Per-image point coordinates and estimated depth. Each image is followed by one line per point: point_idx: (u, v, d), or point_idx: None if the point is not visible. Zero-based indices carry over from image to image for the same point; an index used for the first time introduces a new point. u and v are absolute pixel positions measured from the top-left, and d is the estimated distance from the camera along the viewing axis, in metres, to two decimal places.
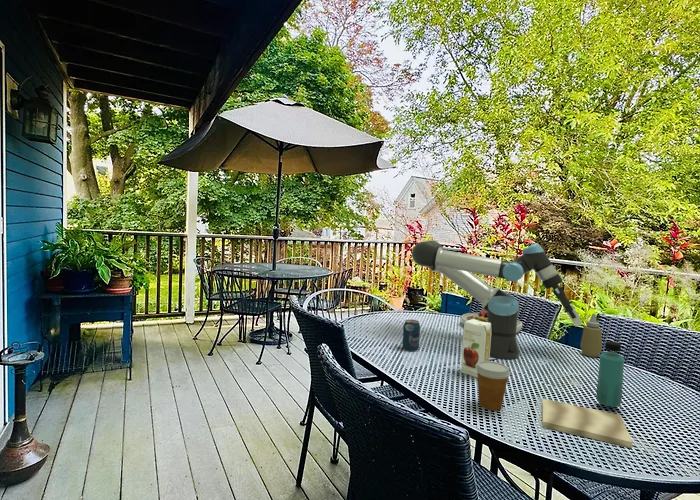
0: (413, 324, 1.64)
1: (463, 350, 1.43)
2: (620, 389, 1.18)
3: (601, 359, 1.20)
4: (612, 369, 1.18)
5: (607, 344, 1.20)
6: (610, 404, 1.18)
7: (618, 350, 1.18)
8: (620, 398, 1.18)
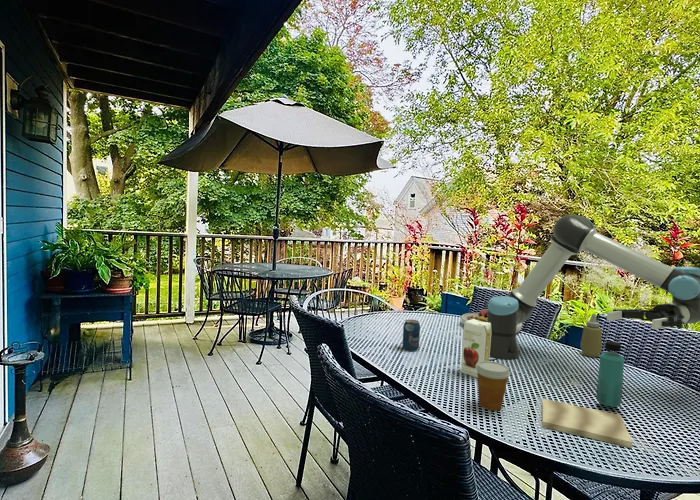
0: (413, 324, 1.65)
1: (463, 350, 1.43)
2: (620, 389, 1.18)
3: (601, 359, 1.20)
4: (612, 369, 1.18)
5: (607, 344, 1.20)
6: (610, 404, 1.18)
7: (618, 350, 1.18)
8: (620, 398, 1.18)
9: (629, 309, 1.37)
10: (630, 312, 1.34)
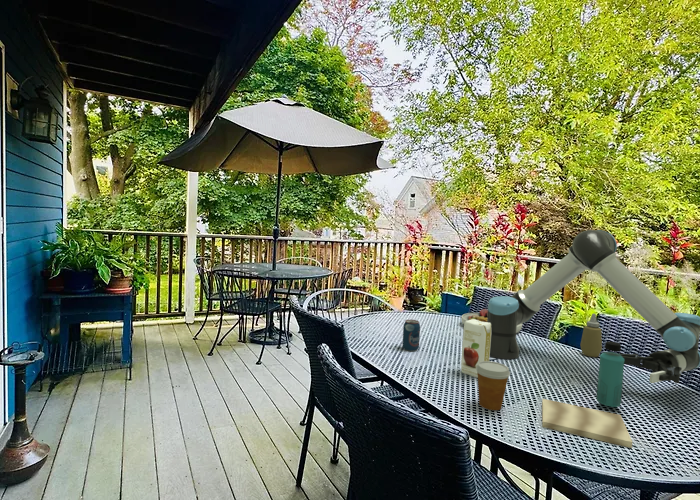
0: (413, 324, 1.65)
1: (463, 350, 1.43)
2: (620, 389, 1.18)
3: (601, 359, 1.20)
4: (612, 369, 1.18)
5: (607, 344, 1.20)
6: (610, 404, 1.18)
7: (618, 350, 1.18)
8: (620, 398, 1.18)
9: (626, 354, 1.35)
10: (627, 358, 1.32)
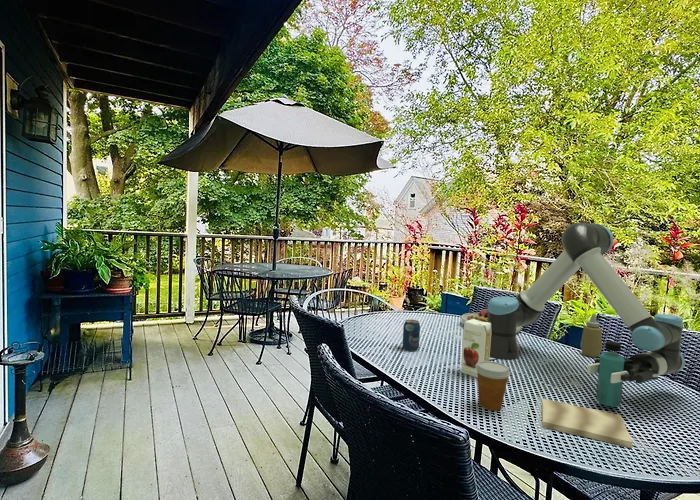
0: (413, 324, 1.65)
1: (463, 350, 1.43)
2: (620, 389, 1.18)
3: (601, 359, 1.20)
4: (612, 369, 1.18)
5: (607, 344, 1.20)
6: (610, 404, 1.18)
7: (618, 350, 1.18)
8: (620, 398, 1.18)
9: None
10: None
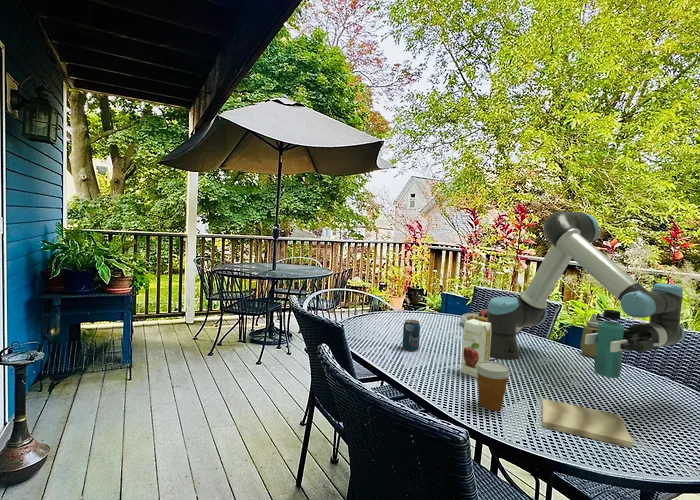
0: (413, 324, 1.65)
1: (463, 350, 1.43)
2: (620, 359, 1.11)
3: (600, 328, 1.14)
4: (611, 337, 1.11)
5: (606, 312, 1.13)
6: (609, 375, 1.12)
7: (618, 318, 1.11)
8: (619, 369, 1.12)
9: None
10: None
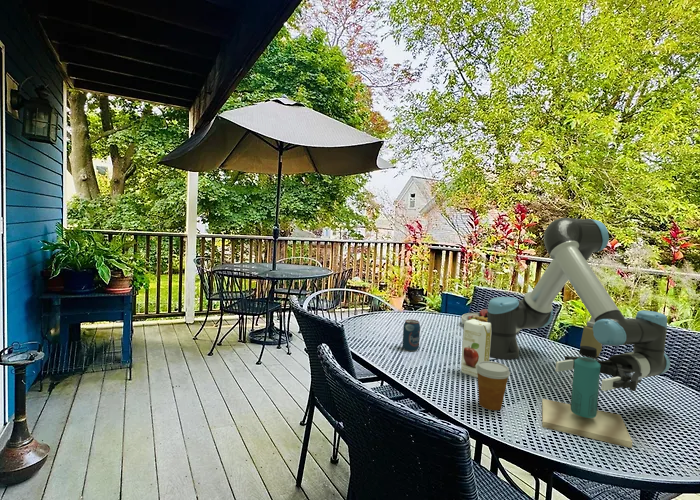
0: (413, 324, 1.64)
1: (463, 350, 1.43)
2: (596, 398, 1.07)
3: (575, 365, 1.09)
4: (586, 376, 1.07)
5: (582, 349, 1.09)
6: (585, 415, 1.07)
7: (593, 355, 1.07)
8: (596, 408, 1.07)
9: None
10: None
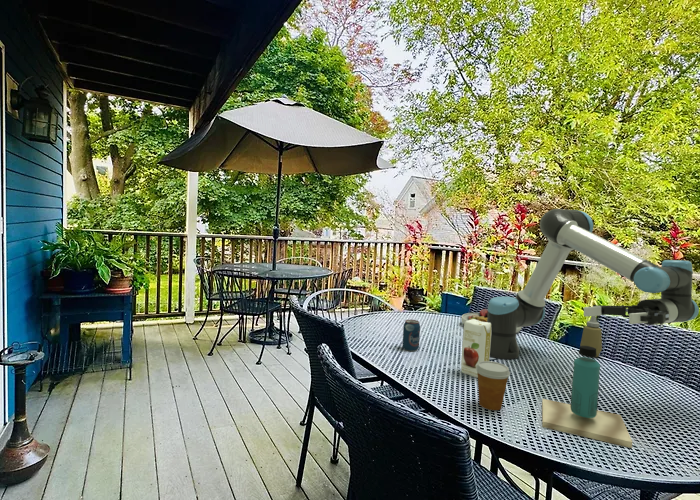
0: (413, 324, 1.65)
1: (463, 350, 1.43)
2: (595, 398, 1.07)
3: (575, 365, 1.09)
4: (586, 376, 1.07)
5: (581, 348, 1.09)
6: (585, 415, 1.07)
7: (593, 355, 1.07)
8: (596, 408, 1.07)
9: None
10: (611, 308, 1.23)
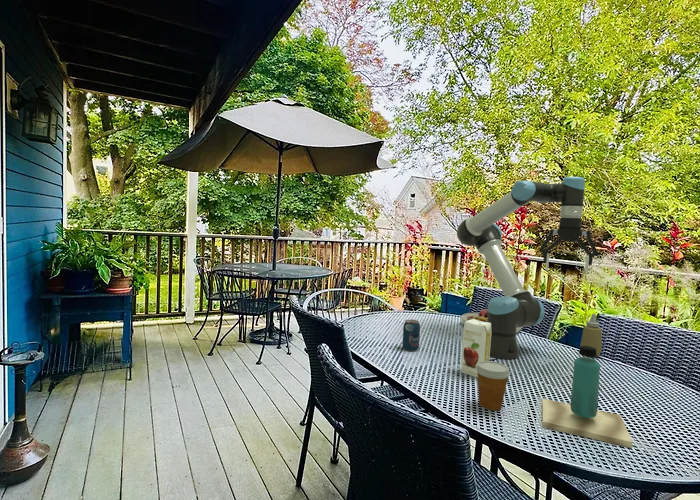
0: (413, 324, 1.65)
1: (463, 350, 1.43)
2: (596, 398, 1.07)
3: (575, 365, 1.09)
4: (586, 376, 1.07)
5: (581, 349, 1.09)
6: (585, 415, 1.07)
7: (593, 355, 1.07)
8: (596, 408, 1.07)
9: None
10: (583, 249, 1.54)
